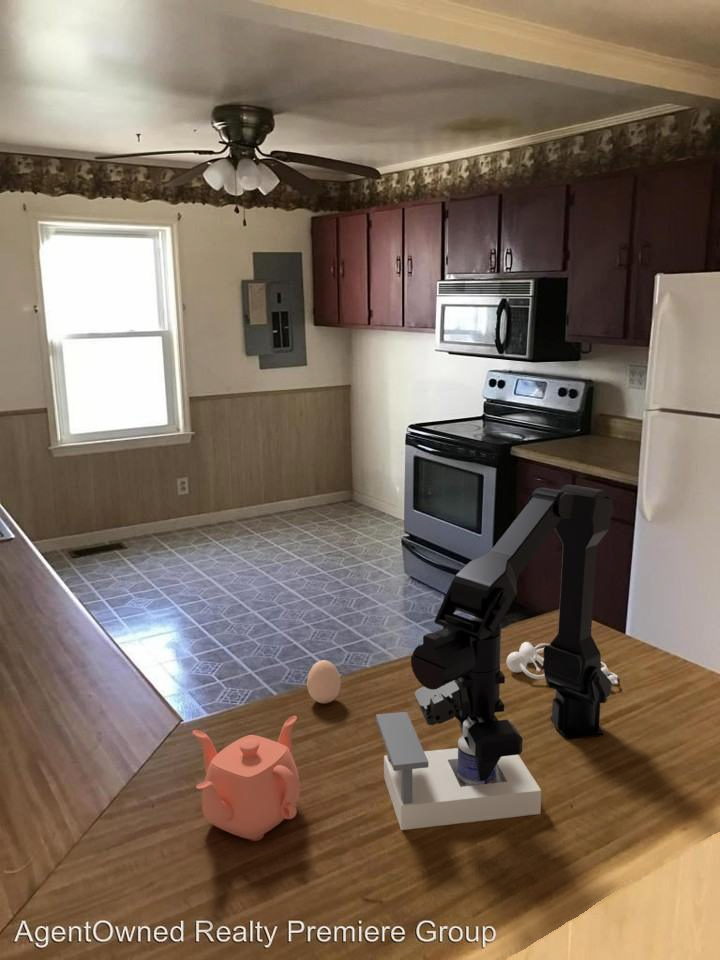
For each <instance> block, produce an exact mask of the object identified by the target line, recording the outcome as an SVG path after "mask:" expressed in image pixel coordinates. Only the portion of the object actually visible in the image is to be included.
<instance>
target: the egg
mask: <svg viewBox="0 0 720 960" xmlns="http://www.w3.org/2000/svg"><path fill="white" fill-rule="evenodd" d="M306 684H307V685H306V686H307V691H308V694H309V696H310V697H311V698H312V699H313V700H314V701H315V702H317V703H319V704H328V703H331V702H332V701H334V700H335V699H336V698H337V697H338V695H339V692H340V691H341V686H342V685H341V684H342V683H341V677H340V673H339V671H338V669H337V667H336V666H335V665H334V663H332V662H331V661H329V660H327V659H326V660H325V659H323V660H319V661H316V663H314V664H313V665H312V667H311V668H310V670H309V673H308V675H307V683H306Z"/></svg>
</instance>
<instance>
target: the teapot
mask: <svg viewBox="0 0 720 960" xmlns="http://www.w3.org/2000/svg"><path fill="white" fill-rule="evenodd" d="M297 719H298V717H297V715H293V716H290V717H289V718H288V719H287V720H286V721H285V722H284V723H283V725H282V727H281V731H280V732H279V733H280V734H279V736H278V740H277V741H275V740H272V739H269V738H267V737H263V736H260V735H257V734H256V735H255V734H249V735H246V736H243V737H240V738H239V739H236V740H235V741H234V742H231V743H230V744H228V745H227V746H226V747H224V748H223V749H222V750H220V751H219V752H217V750H216V747H215V746H214V744H213V742H212V740H211V737H209V736H208V734H206V733H205V732H203V731H201V730H198V729H195V730H192V735H194V737H195V738H196V739H197V740H198V741H199V744H200V747H201V749H202V757H203V765H204V766H203V767H204V770H205V771H204V772H205V774H206V775H205V779H204V781H203V782H202V781H201V782H199V783H198V784H197V785H196V786H195V788H196V789H198V790H202V797H201V810H202V814H203V815H204V817H205V818H206V820H207V822H209V823H210V825H213V826H215V827H216V828H218V829H220V830H223V831H225V832H227V833H229V834H232V835H233V836H238V837H240V838H244V839H247V840H250V841H252V842H256V841H257V842H258V841H260V840H262V839H263V838H264V837H265V834H266V833H268V832H269V831H271V830H273V829H274V828H276V827H277V826H278V825H280V824H281V822H283V821H284V820H285V819H286V820H291V819H293V818H295V817H296V815H297V808H296V805H297V802H298V800H299V798H300V795H301V783H300V776H299V771H298V768H297V765H296V761H295V760H294V757H293V746H292V745H293V744H292V731H293V728H294V726H295V723H296V721H297Z"/></svg>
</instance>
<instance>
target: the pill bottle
mask: <svg viewBox="0 0 720 960" xmlns="http://www.w3.org/2000/svg"><path fill="white" fill-rule="evenodd" d="M473 724H474V723H471V721H470V719H469V718H468V719H466V720H465V721H464V722H463V735H462V734H461V735H460V736H459V738H458V741H457V748H458V783H459V785H460V787H464V786H473V785H482V784H491V783H495V780H496V766H495V768H494V769H493V771H492V773H491V774H490V776H489V778H488V779H486V780H480V778H479V774H478V768H477V762H476V757H475V755H474V754H473V752H472V750H471V749H470V748H469V746H468V745H467V743H466V741H465V739H464V737H468V729H469V728H470V727H471V726H472V725H473Z"/></svg>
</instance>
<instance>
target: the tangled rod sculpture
mask: <svg viewBox="0 0 720 960" xmlns="http://www.w3.org/2000/svg"><path fill="white" fill-rule="evenodd" d="M549 644H550V643H544V642H543V643H538V644H537V645H536V646H535V647H534V646H533V645H532V643H530V641H525V642H523V643H521V645H520V646H519V648H518V649H519V650H518V651H512V652H510V654H508V656H507V657H506V661H505V662H506V665H507V668H508V669H509V670H510V671H512V672H513V673H522V672H523V673H524V674H525V675H526V676H527V677H529V678H532V679H534V680H543V679H546V677H545V675H544V673H542V674H539V675H538V674H534V673H531V672H530V671H529V670H528V669H527V666H528V664H533V665H534V666H535V668H536V670H535V671H536V672H538V673H539V672H541V668H540V667H539V666H538V664H537V663H536V661H537V662H538V663H539V664H540V665H541V666H543V662H544V657H542V656H541V655H540V654H541V653H544V648H545V646H546V645H549ZM540 647H543V648H540ZM602 666H603V667H602ZM542 670H543V671H544V669H542ZM601 670H602V671H603V673H604V674H605V675H606V676H607V677H608V679H609V680H610V681H611V682H612V685H616V686H617V685H619V682H618V678H619V675H618V674H616V673H613V672H612V671H611V670H609V668H608V666H607V664H606V663H605V662H603V661H601Z"/></svg>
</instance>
